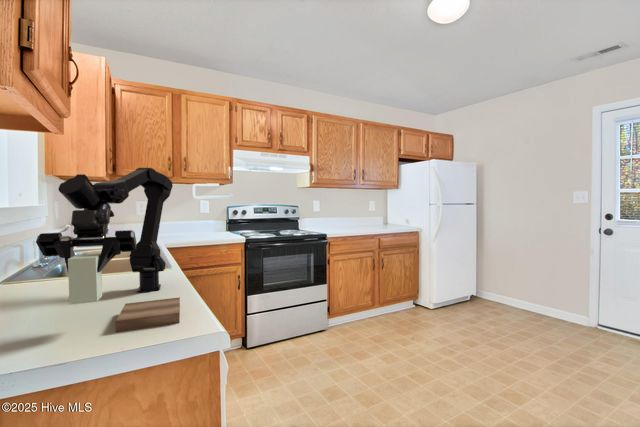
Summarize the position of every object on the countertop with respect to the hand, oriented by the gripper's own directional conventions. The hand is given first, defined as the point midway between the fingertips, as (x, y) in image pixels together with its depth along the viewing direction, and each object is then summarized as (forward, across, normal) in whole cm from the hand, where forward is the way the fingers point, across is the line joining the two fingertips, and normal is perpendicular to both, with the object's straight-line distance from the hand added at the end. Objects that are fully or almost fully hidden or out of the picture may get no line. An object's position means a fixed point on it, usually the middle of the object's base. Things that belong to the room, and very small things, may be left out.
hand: (83, 272), depth 69 cm
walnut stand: (+7, +13, +12) cm, 19 cm away
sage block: (+4, 0, +6) cm, 7 cm away
